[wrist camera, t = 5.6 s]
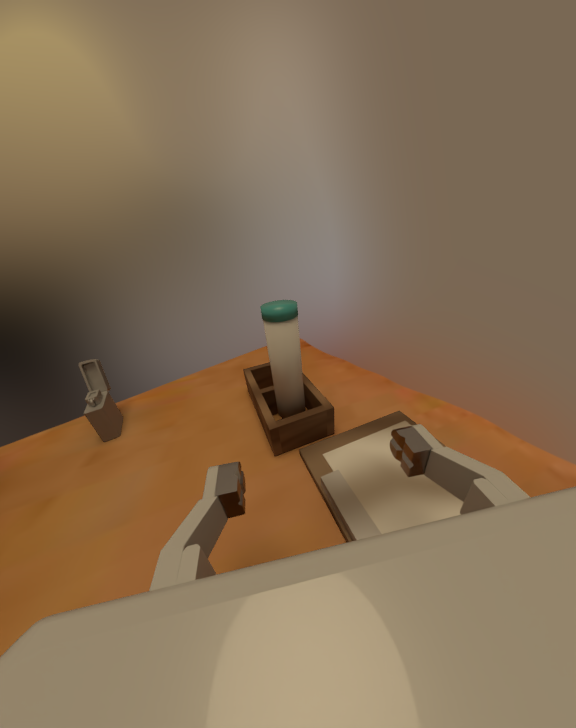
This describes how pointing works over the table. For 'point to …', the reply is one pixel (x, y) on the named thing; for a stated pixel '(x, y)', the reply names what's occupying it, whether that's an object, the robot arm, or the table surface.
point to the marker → (284, 355)
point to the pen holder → (295, 427)
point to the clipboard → (374, 482)
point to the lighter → (100, 402)
